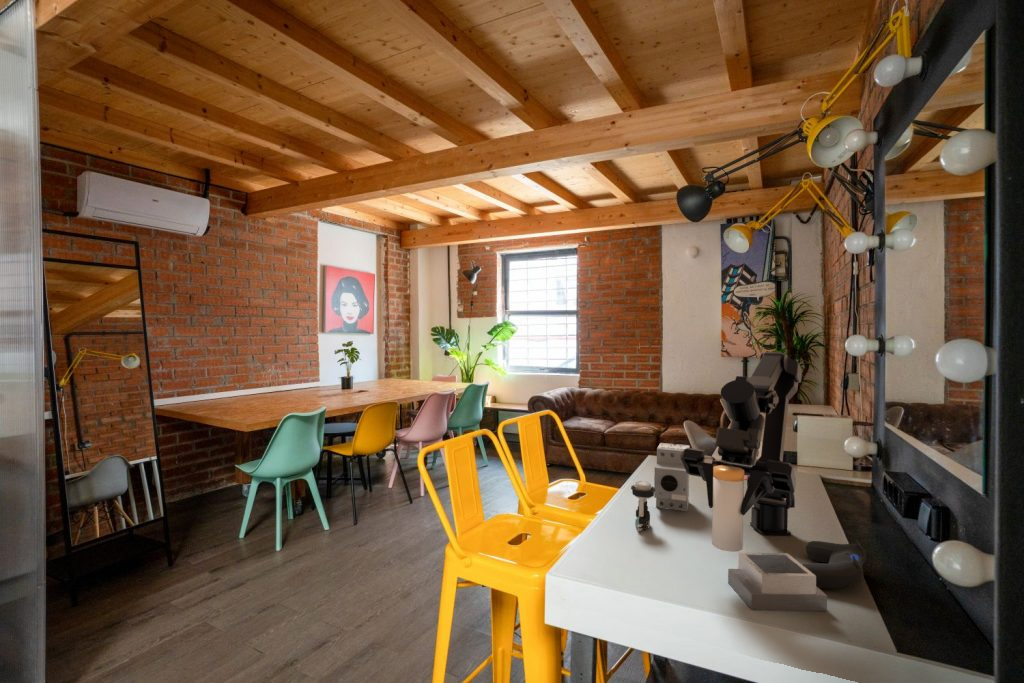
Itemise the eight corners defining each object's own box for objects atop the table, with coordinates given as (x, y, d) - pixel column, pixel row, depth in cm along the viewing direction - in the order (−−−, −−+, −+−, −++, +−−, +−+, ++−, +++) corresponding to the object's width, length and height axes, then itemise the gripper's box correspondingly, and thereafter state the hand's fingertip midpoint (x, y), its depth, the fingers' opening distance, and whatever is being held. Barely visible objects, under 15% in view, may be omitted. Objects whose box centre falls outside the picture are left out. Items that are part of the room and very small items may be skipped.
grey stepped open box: (796, 583, 91) (796, 552, 91) (826, 611, 82) (827, 576, 82) (728, 582, 91) (728, 551, 91) (751, 609, 82) (751, 575, 82)
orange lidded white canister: (730, 538, 93) (732, 464, 93) (749, 550, 88) (750, 472, 88) (706, 540, 92) (707, 466, 92) (723, 552, 87) (724, 473, 87)
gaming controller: (808, 604, 89) (868, 589, 84) (789, 571, 91) (847, 555, 86) (819, 569, 102) (872, 555, 97) (803, 541, 104) (854, 526, 99)
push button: (650, 535, 112) (651, 489, 112) (626, 530, 115) (627, 486, 115) (656, 525, 118) (657, 482, 118) (633, 521, 121) (634, 479, 121)
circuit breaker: (653, 515, 125) (654, 453, 125) (659, 498, 139) (660, 442, 138) (685, 519, 122) (686, 456, 122) (688, 501, 136) (689, 445, 136)
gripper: (684, 405, 99) (661, 474, 90) (794, 416, 87) (779, 496, 79) (698, 440, 105) (677, 507, 97) (801, 454, 94) (788, 532, 85)
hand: (725, 510), depth 89 cm, fingers closed on orange lidded white canister, 5 cm apart
